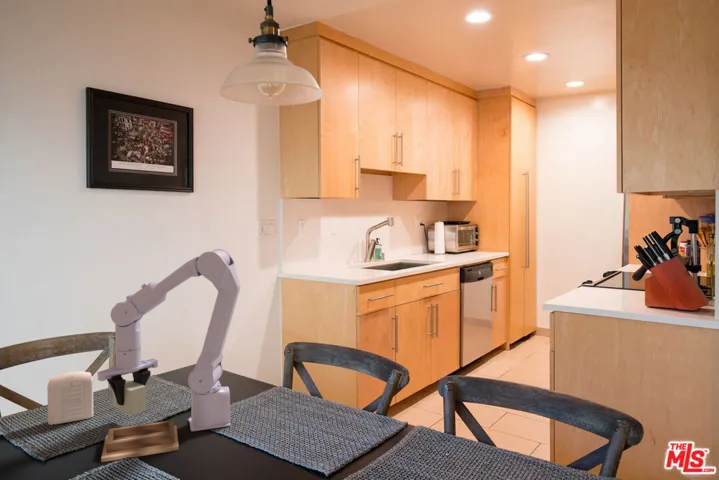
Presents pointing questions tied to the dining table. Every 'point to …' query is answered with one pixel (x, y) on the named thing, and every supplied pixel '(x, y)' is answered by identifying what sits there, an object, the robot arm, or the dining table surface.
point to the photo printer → (70, 397)
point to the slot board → (140, 440)
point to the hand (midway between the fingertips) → (129, 401)
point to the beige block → (132, 398)
